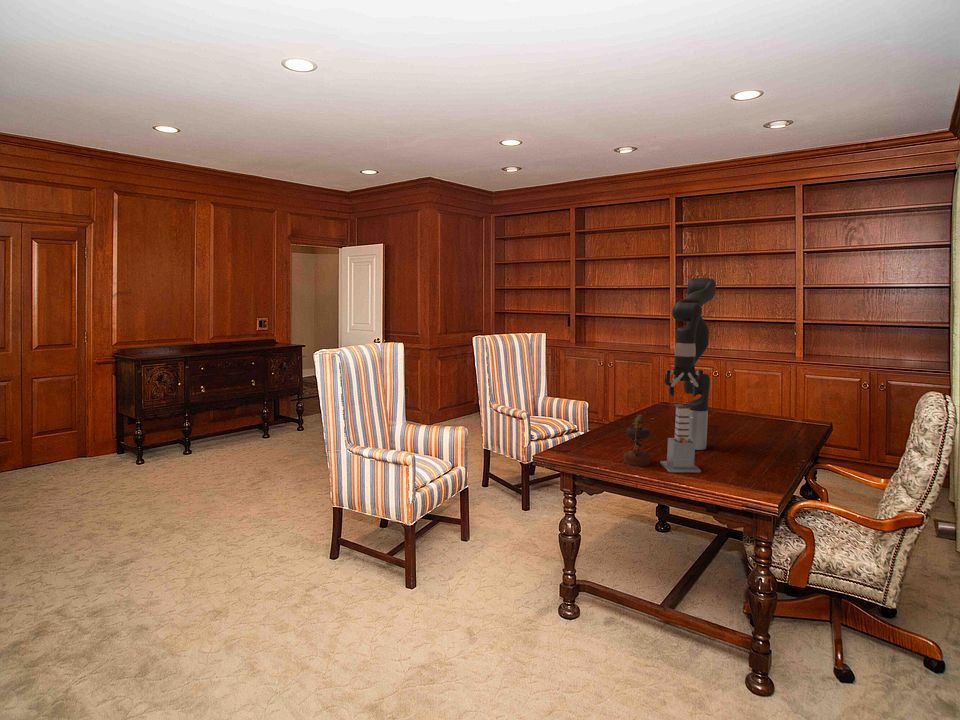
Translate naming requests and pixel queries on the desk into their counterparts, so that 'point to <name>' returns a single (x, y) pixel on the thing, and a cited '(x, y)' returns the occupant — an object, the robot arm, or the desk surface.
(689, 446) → the stand
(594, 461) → the desk surface
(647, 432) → the brown piece
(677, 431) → the column
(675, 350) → the robot arm
